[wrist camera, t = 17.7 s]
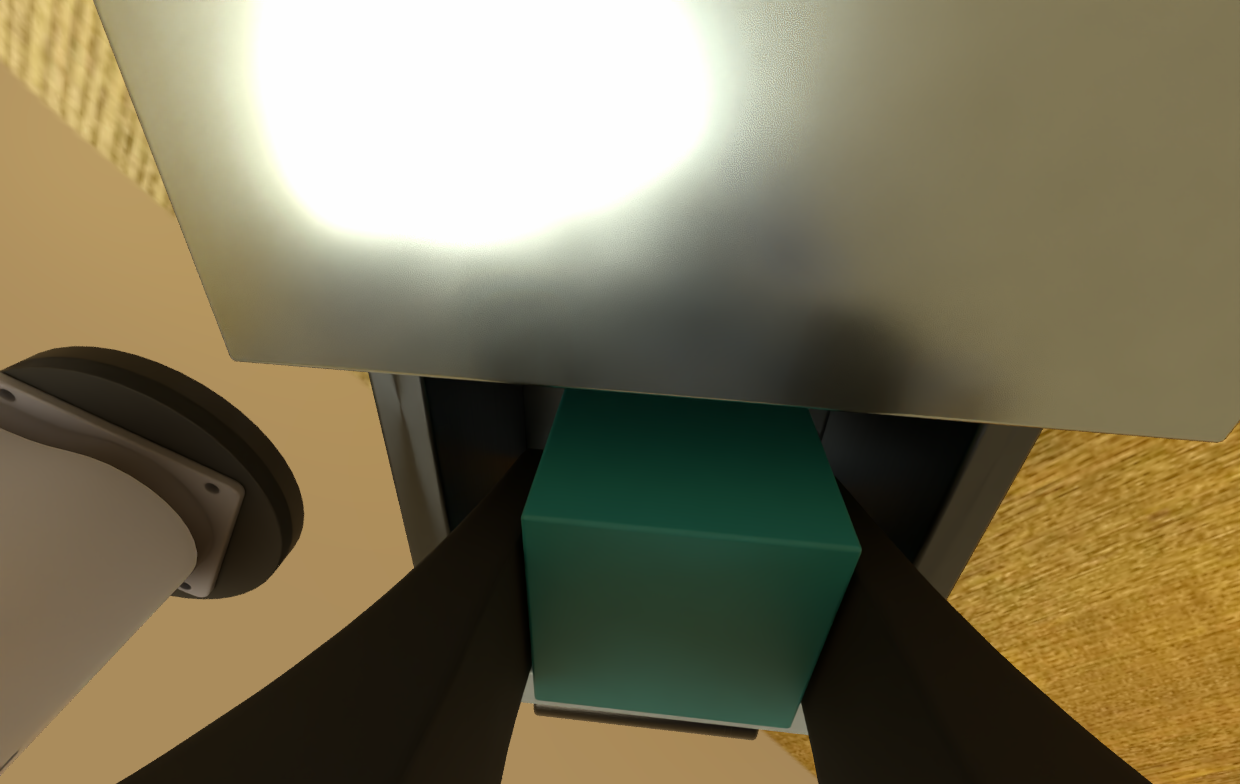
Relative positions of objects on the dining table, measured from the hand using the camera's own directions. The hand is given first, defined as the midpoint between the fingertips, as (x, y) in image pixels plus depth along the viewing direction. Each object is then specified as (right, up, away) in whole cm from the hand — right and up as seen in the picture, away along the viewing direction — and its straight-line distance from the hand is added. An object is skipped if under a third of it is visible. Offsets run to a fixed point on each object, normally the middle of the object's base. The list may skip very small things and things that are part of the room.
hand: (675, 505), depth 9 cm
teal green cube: (0, +1, +1) cm, 1 cm away
